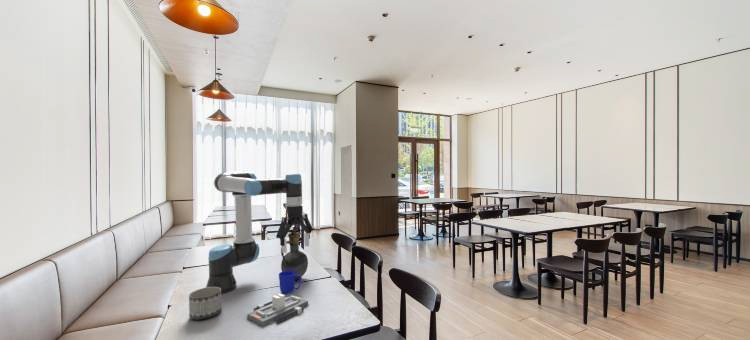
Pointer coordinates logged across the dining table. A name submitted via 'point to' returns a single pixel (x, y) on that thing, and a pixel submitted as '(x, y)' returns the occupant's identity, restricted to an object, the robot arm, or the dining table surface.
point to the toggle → (278, 301)
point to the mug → (288, 281)
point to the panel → (275, 310)
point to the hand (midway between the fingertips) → (296, 249)
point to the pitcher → (294, 257)
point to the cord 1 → (262, 305)
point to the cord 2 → (290, 314)
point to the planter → (205, 303)
